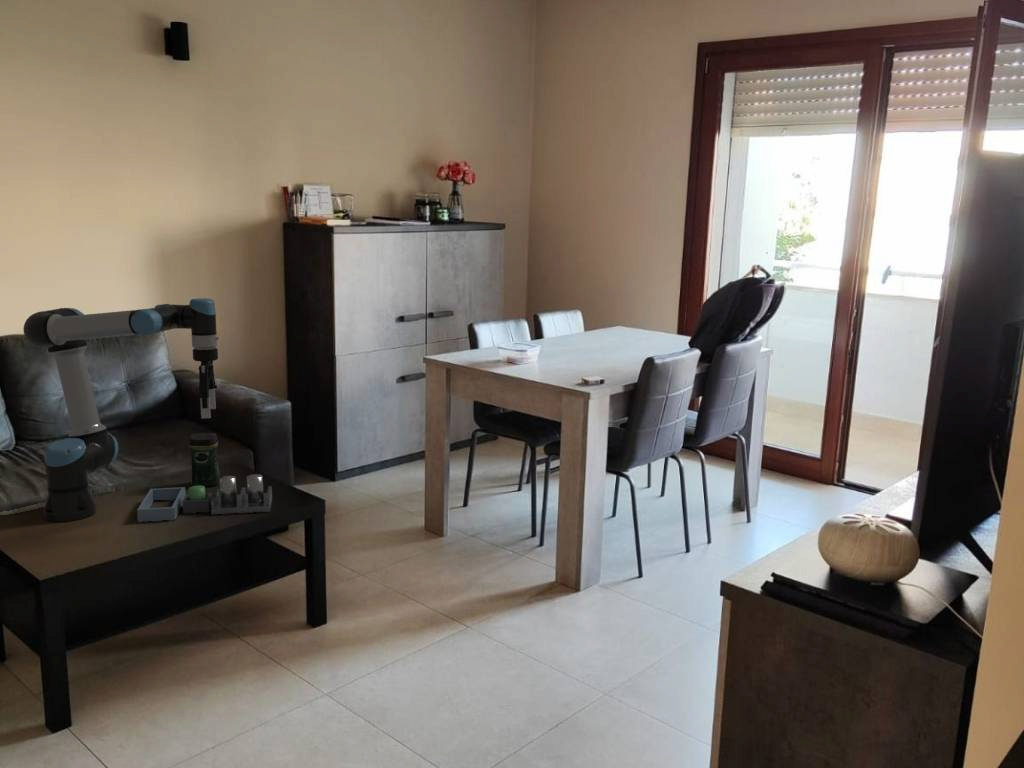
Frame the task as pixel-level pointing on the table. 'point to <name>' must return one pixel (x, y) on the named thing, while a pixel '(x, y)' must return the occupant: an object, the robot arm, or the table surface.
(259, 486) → the billet
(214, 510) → the pallet
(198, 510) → the button housing
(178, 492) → the tote
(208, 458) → the coffee jar
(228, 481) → the seated billet
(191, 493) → the button
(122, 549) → the table surface
